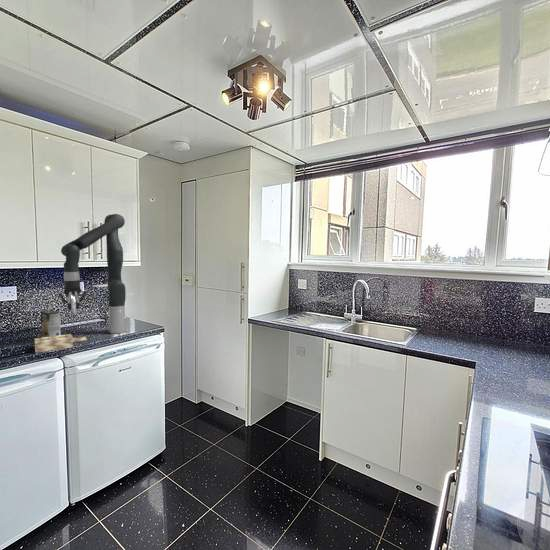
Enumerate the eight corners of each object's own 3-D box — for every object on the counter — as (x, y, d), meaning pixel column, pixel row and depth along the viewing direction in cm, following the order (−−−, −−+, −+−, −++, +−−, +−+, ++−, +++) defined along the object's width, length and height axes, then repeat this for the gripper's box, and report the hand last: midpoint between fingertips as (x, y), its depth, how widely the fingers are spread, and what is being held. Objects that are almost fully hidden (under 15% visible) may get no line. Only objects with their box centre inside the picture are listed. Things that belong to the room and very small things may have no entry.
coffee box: (40, 338, 176) (39, 311, 175) (53, 336, 182) (52, 309, 181) (49, 341, 172) (48, 313, 171) (61, 338, 178) (60, 311, 177)
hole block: (70, 342, 170) (70, 333, 170) (73, 346, 162) (73, 337, 162) (34, 347, 160) (34, 338, 159) (35, 352, 152) (35, 343, 152)
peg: (76, 314, 176) (75, 293, 175) (77, 314, 173) (76, 294, 172) (70, 314, 174) (69, 294, 173) (71, 315, 171) (70, 294, 170)
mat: (85, 337, 181) (85, 336, 181) (87, 340, 176) (87, 339, 176) (69, 339, 176) (69, 338, 176) (70, 342, 170) (70, 341, 170)
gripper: (85, 278, 179) (86, 307, 181) (56, 279, 170) (58, 310, 171) (87, 279, 173) (88, 308, 175) (57, 280, 164) (59, 312, 166)
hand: (73, 309), depth 173 cm, fingers closed on peg, 3 cm apart
